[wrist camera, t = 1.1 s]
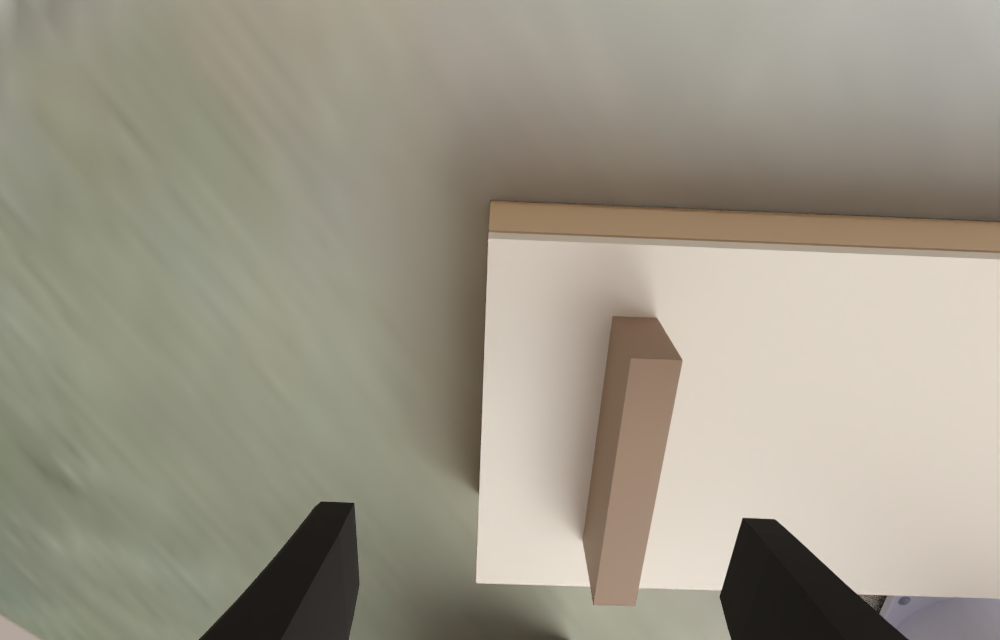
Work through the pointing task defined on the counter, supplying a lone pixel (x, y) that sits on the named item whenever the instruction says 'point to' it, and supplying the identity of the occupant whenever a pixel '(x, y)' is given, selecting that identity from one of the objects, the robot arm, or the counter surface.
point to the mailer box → (744, 226)
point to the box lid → (738, 413)
